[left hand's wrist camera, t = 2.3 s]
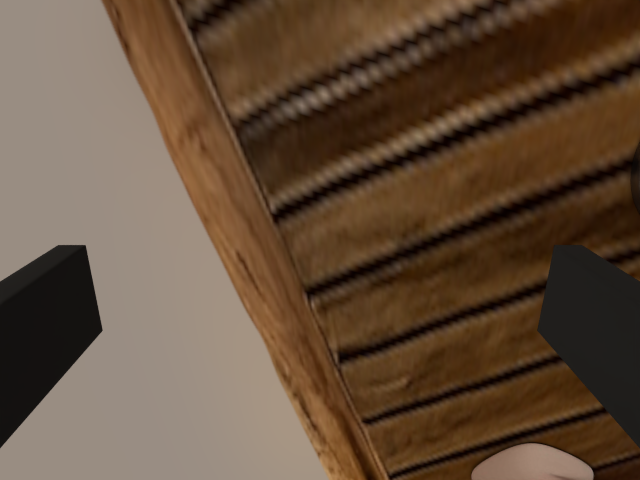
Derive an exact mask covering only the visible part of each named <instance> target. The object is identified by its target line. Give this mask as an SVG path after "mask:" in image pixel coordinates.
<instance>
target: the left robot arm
mask: <svg viewBox="0 0 640 480" xmlns="http://www.w3.org/2000/svg"><path fill="white" fill-rule="evenodd" d="M631 191H632V196H633V200H634V203H635V206H636V208H637V210H638V212H639V214H640V142H639V145H638V147H637V150H636V153H635V156H634V159H633V164H632V170H631ZM537 331H538V332H539V333H540V334H541V335H542V336H543V338H544V339H545V340H546V341H547V342H548V343H549V344H550V346H551V347H552V348H553V349H554V350H555V351H556V352H557V354H558V355H559V356H560V357H561V358H562V359H563V361H564V362H565V363H566V364H567V365H568V366H569V367H570V369H571V370H572V371H573V372H574V373H575V374H576V375H577V377H578V378H579V379H580V380H581V381H582V382H583V384H584V385H585V386H586V387H587V388H588V389H589V390H590V392H591V393H592V394H593V395H594V396H595V397H596V398H597V400H598V401H599V402H600V403H601V404H602V405H603V406H604V408H605V409H606V410H607V411H608V412H609V413H610V415H611V416H612V417H613V418H614V419H615V420H616V421H617V423H618V424H619V425H620V426H621V427H622V428H623V429H624V431H625V432H626V433H627V434H628V435H629V436H630V437H631V439H632V440H633V441H634V442H635V443H636V444H637V446H638V447H639V448H640V281H638V280H636V279H635V278H633V277H632V276H630V275H628V274H627V273H625V272H624V271H622V270H620V269H619V268H617V267H616V266H614V265H613V264H611V263H609V262H608V261H606V260H605V259H603V258H601V257H600V256H598V255H597V254H595V253H593V252H592V251H590V250H589V249H587V248H585V247H584V246H582V245H554V250H553V255H552V260H551V265H550V270H549V275H548V280H547V285H546V290H545V295H544V300H543V305H542V310H541V315H540V320H539V325H538V330H537ZM101 332H102V325H101V320H100V315H99V310H98V305H97V300H96V295H95V290H94V285H93V280H92V275H91V270H90V265H89V260H88V255H87V250H86V246H85V245H58V246H56V247H55V248H53V249H51V250H50V251H48V252H47V253H45V254H43V255H42V256H40V257H39V258H37V259H35V260H34V261H32V262H31V263H29V264H28V265H26V266H24V267H23V268H21V269H20V270H18V271H16V272H15V273H13V274H12V275H10V276H8V277H7V278H5V279H4V280H2V281H0V448H1V447H2V446H3V444H4V443H5V442H6V441H7V440H8V439H9V437H10V436H11V435H12V434H13V433H14V432H15V431H16V429H17V428H18V427H19V426H20V425H21V424H22V423H23V421H24V420H25V419H26V418H27V417H28V416H29V415H30V413H31V412H32V411H33V410H34V409H35V408H36V406H37V405H38V404H39V403H40V402H41V401H42V400H43V398H44V397H45V396H46V395H47V394H48V393H49V391H50V390H51V389H52V388H53V387H54V386H55V385H56V383H57V382H58V381H59V380H60V379H61V378H62V377H63V375H64V374H65V373H66V372H67V371H68V370H69V369H70V367H71V366H72V365H73V364H74V363H75V362H76V360H77V359H78V358H79V357H80V356H81V355H82V354H83V352H84V351H85V350H86V349H87V348H88V347H89V346H90V344H91V343H92V342H93V341H94V340H95V339H96V338H97V336H98V335H99V334H100V333H101Z"/></svg>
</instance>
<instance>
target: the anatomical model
mask: <svg viewBox="0 0 640 480" xmlns="http://www.w3.org/2000/svg"><path fill="white" fill-rule="evenodd" d="M471 477H472V480H593V471H592V469H591V468H590V467H589V466H588V465H587V464H585V463H584V462H583V461H581V460H579V459H577V458H576V457H574V456H572V455H570V454H568V453H565V452H563V451H560V450H558V449H555V448H553V447H549V446H546V445H542V444H536V443H527V444H520V445H517V446H513V447H511V448H508V449H506V450H503V451H501V452H499V453H497V454H495V455H493V456H491V457H490V458H488V459H486V460H485V461H483V462H482V463H480V464H479V465H478V466H477V467H476V468H475V469H474V470H473V472H472V476H471Z"/></svg>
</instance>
